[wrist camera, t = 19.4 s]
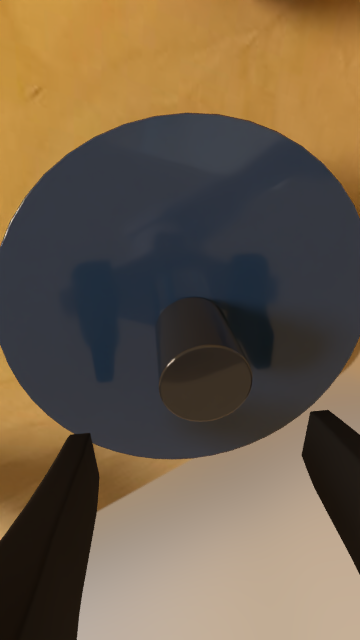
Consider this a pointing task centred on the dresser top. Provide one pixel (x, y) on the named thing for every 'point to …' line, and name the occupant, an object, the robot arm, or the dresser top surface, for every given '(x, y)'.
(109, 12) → the dresser top surface
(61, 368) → the lid
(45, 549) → the robot arm
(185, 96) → the dresser top surface
